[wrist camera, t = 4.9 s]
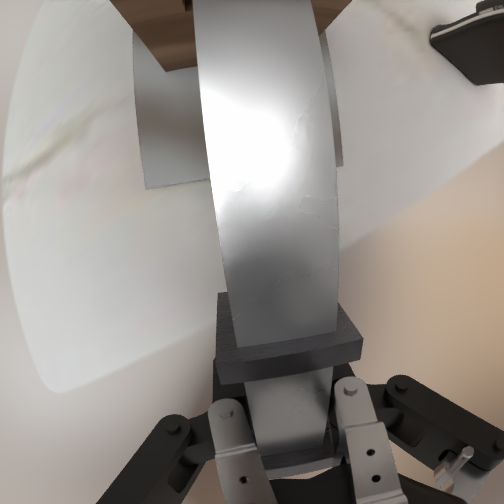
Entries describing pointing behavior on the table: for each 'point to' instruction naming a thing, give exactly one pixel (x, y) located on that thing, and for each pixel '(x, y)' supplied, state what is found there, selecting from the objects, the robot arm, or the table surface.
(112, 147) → the table surface
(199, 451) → the robot arm
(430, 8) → the table surface
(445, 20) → the table surface
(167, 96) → the stand
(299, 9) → the shaft
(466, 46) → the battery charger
